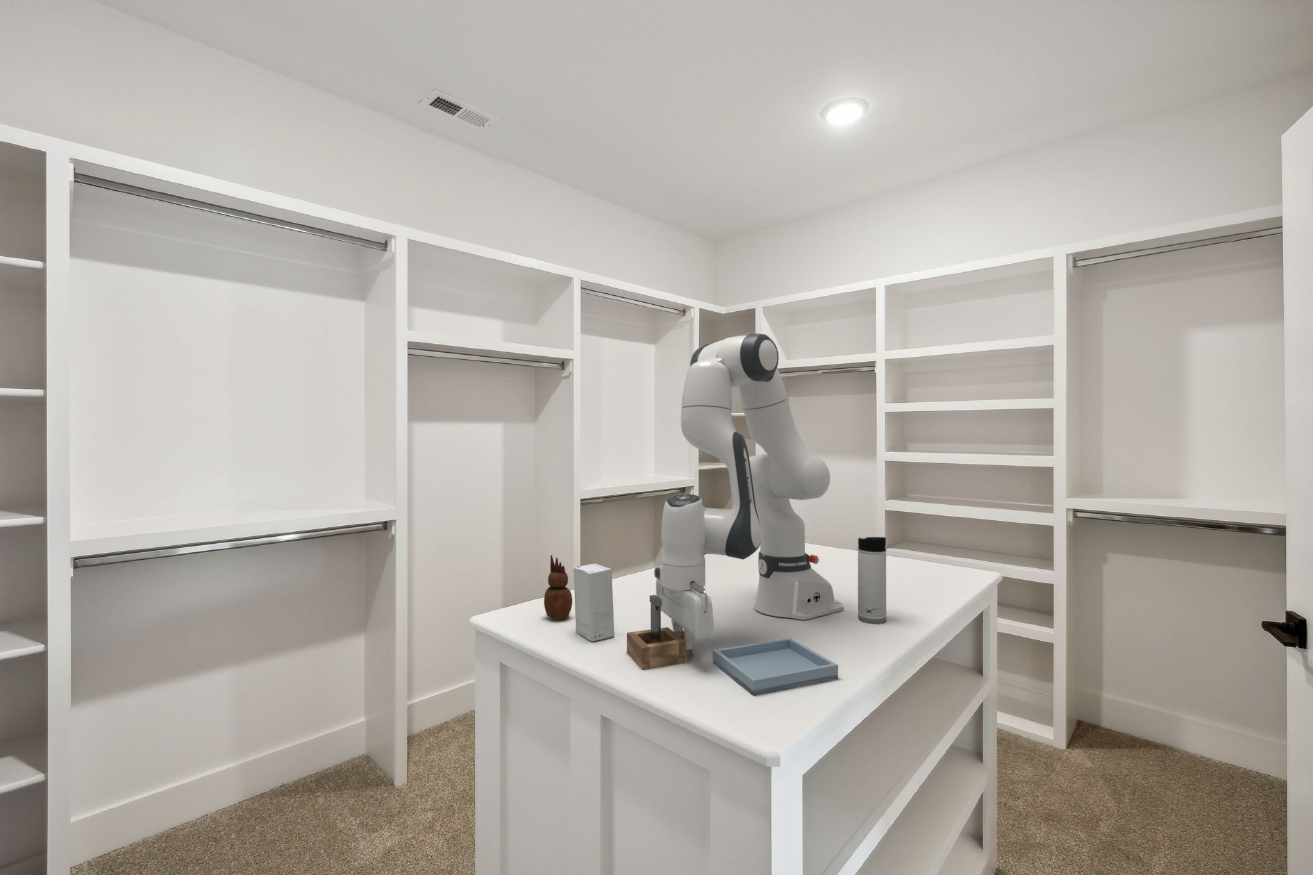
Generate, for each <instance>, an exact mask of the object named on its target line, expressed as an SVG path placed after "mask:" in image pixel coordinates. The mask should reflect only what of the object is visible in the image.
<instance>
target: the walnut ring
mask: <svg viewBox="0 0 1313 875" xmlns="http://www.w3.org/2000/svg"><path fill="white" fill-rule="evenodd" d="M684 635H685V633H684V630H683V631H679V632H674V630H672V629H671V628H670V627H667V626H666V627H661V642H660V643H653V644H651V628H650V629H643V630H637V631H636V630H635V631H629V632H626V653H627V655H628V656H629V657H630V658H631V659H632V660H633V662H635V663H636V665H637V666H638V667H639V668H640V669H641V670H649V669H655V668H660V667H665V666H666V667H667V666H672V665H673V666H674V665H678V664H685V663H687V656H690V655H694V654H693V653H694V647H693V648H692V649H689V650H686V641H685V640H683V639H684Z"/></svg>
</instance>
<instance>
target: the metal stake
mask: <svg viewBox="0 0 1313 875" xmlns="http://www.w3.org/2000/svg"><path fill="white" fill-rule="evenodd" d="M649 602H650V629H651V644H653V643H660V642H661V628H662V619H661V618H662V614H661V613H662V611H661V606H662V599H660V598H659V597H658V596H656V594H651V595H649Z"/></svg>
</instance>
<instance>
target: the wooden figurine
mask: <svg viewBox="0 0 1313 875" xmlns="http://www.w3.org/2000/svg"><path fill="white" fill-rule="evenodd" d="M549 564H550V573H549V574H548V578H547V583H548V586H549V587H547V589H546V590H545V592H544V595H543V596H544V597H543V605H544V606H543V607H544V609H545V613H546V616H547V617H548V618H549V619H551V620H553V621H563V620H566V619H567V618H568V617H569V616H570V612H571V611H572V607H573V595H572V591H571V590H570V589H569V588H568V587H567V585H568V583H569V575H568V574H567V572H566V568H565V565H562V562H561V561H560V562H559V560H558V557H555V561H554V558H553V555H552V554H551V555H550V563H549Z"/></svg>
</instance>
